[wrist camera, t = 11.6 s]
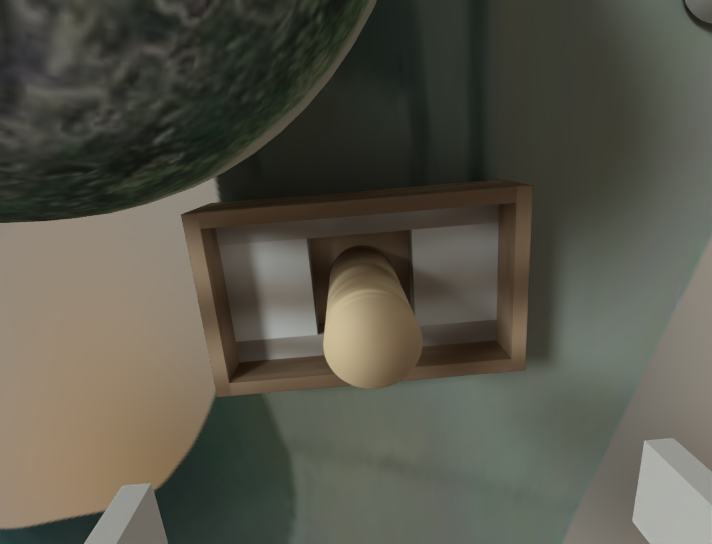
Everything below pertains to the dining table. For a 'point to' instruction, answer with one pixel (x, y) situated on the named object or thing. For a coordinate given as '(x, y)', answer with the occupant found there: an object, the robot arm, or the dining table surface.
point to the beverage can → (701, 9)
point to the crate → (312, 275)
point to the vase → (151, 93)
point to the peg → (369, 321)
